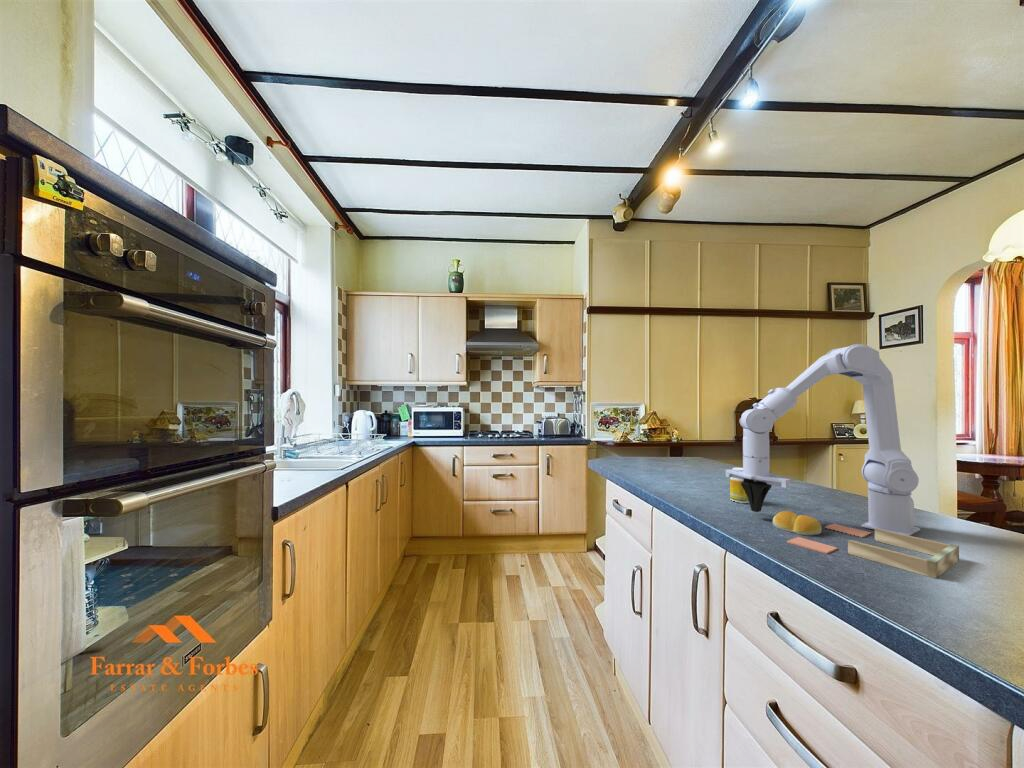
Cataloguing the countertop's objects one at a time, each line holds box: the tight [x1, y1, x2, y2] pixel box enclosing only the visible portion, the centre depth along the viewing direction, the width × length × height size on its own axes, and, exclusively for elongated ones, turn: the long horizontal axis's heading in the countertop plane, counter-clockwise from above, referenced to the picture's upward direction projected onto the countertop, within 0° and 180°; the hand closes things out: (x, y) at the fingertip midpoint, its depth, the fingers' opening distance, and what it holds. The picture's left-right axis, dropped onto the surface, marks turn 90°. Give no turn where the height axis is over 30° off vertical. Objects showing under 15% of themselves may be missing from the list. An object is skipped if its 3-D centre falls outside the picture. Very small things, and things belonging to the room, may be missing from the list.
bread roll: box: [772, 510, 823, 536], centre depth 92 cm, size 8×9×4 cm
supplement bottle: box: [729, 467, 750, 504], centre depth 115 cm, size 5×5×10 cm
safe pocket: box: [847, 528, 960, 579], centre depth 76 cm, size 15×12×3 cm
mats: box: [786, 523, 872, 555], centre depth 86 cm, size 23×7×1 cm, turn 121°
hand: (756, 510), depth 99 cm, fingers closed
